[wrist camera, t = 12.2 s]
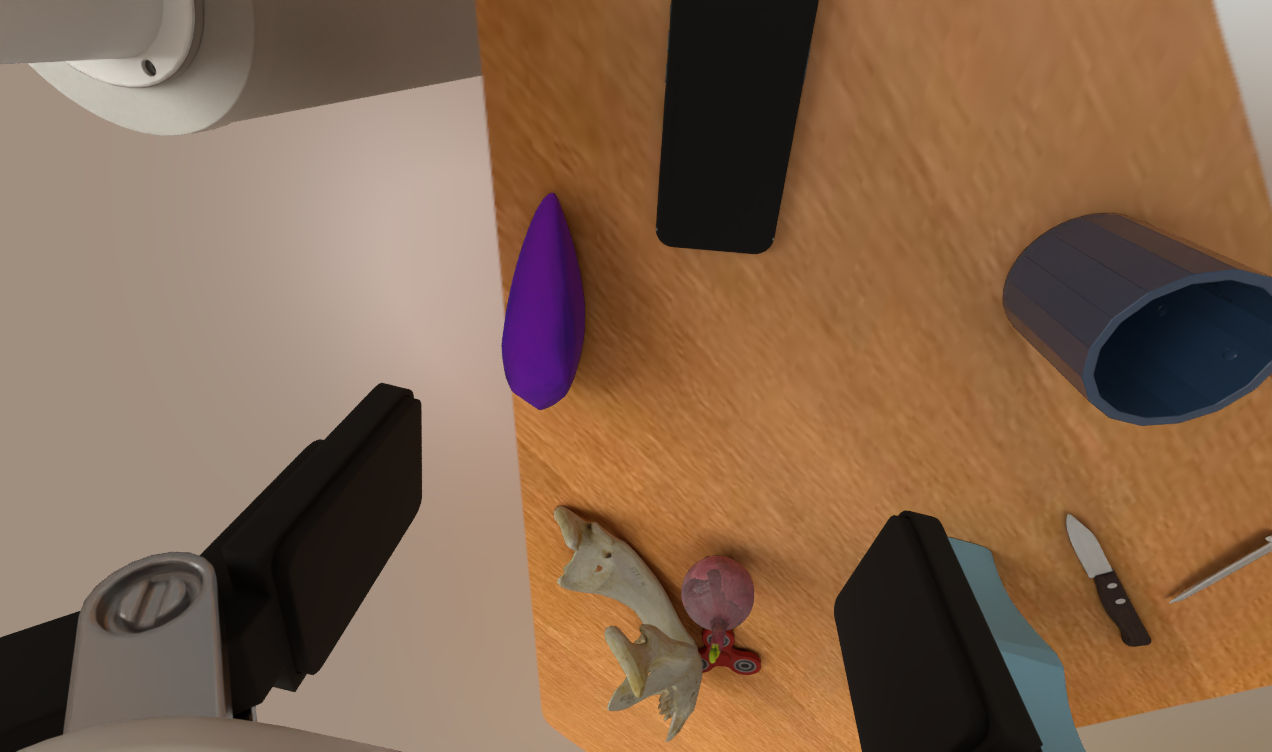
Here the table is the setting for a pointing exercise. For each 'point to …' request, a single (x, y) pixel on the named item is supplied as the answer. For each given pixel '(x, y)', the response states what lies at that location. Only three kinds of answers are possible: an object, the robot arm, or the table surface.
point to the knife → (1226, 570)
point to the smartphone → (730, 119)
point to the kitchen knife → (1107, 584)
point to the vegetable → (717, 597)
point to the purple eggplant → (544, 311)
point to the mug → (1142, 318)
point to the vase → (1022, 652)
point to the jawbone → (662, 632)
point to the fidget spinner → (729, 656)
